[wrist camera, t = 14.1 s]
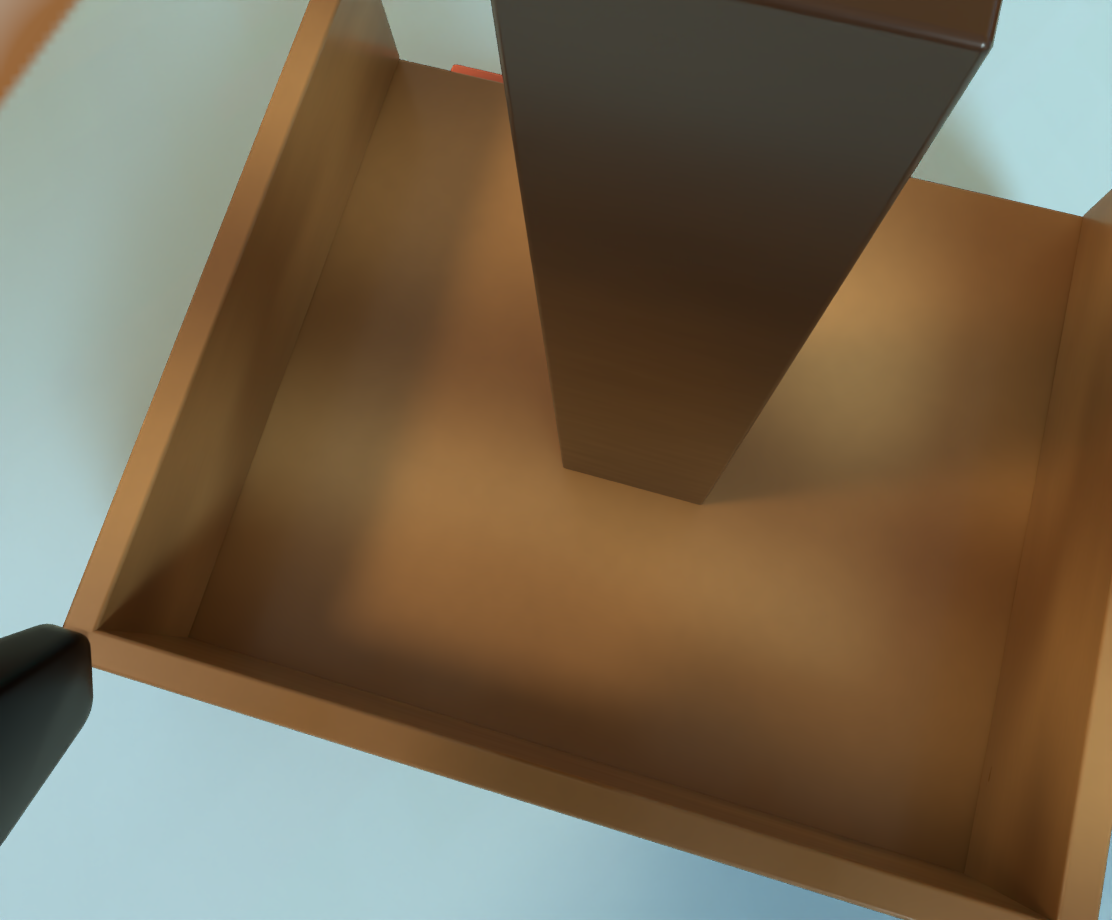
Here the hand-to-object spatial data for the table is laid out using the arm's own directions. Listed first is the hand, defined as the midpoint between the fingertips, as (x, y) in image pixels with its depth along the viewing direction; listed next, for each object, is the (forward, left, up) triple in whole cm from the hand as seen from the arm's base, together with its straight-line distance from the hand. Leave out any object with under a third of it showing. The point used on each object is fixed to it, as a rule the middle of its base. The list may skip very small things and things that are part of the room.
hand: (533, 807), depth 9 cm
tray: (+5, +3, -7) cm, 9 cm away
